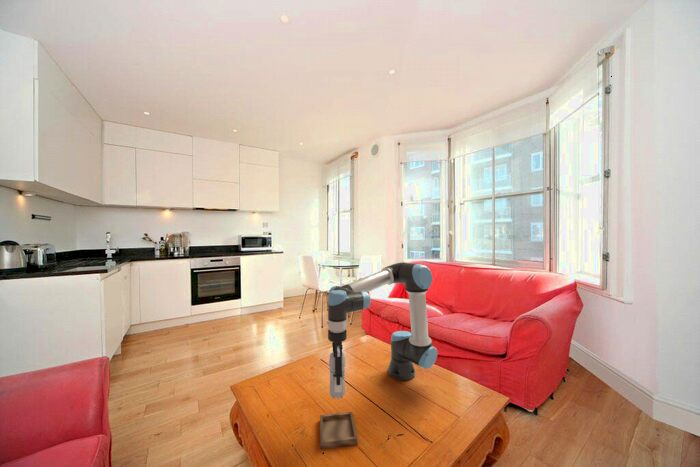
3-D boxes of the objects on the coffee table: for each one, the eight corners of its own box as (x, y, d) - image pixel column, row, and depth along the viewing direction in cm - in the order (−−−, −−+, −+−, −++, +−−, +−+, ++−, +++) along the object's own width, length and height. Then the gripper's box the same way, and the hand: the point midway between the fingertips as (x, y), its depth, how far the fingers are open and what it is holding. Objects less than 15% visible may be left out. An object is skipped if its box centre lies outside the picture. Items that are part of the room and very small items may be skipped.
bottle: (329, 390, 103) (328, 343, 103) (345, 390, 104) (344, 342, 104) (329, 401, 96) (328, 350, 96) (346, 400, 97) (346, 350, 97)
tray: (352, 417, 108) (352, 411, 108) (357, 444, 94) (357, 438, 94) (320, 420, 106) (320, 415, 106) (320, 448, 92) (320, 442, 92)
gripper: (327, 321, 109) (327, 373, 109) (329, 340, 90) (329, 403, 90) (343, 320, 110) (343, 372, 110) (349, 338, 91) (349, 401, 91)
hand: (337, 386), depth 100 cm, fingers closed on bottle, 6 cm apart
